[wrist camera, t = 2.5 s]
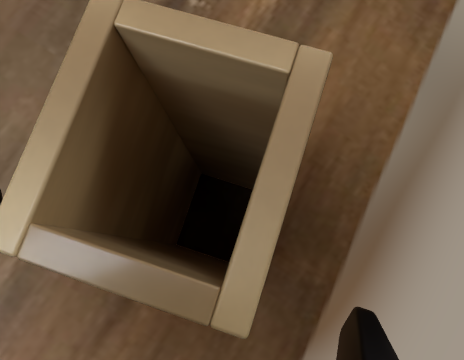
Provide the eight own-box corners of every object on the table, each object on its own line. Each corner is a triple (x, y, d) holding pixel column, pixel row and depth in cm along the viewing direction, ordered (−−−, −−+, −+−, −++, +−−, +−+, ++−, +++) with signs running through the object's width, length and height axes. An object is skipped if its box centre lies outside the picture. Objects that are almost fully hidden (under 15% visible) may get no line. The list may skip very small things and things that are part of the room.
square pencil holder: (249, 283, 18) (247, 341, 6) (160, 252, 18) (-21, 246, 6) (279, 185, 19) (334, 51, 6) (193, 158, 19) (93, -15, 7)
